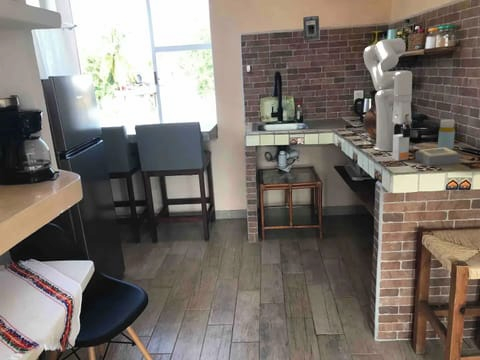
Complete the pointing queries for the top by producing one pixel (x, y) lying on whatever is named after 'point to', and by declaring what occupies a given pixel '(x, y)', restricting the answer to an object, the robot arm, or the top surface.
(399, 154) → the skincare box
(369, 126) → the ceramic vessel
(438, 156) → the tray
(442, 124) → the bottle
